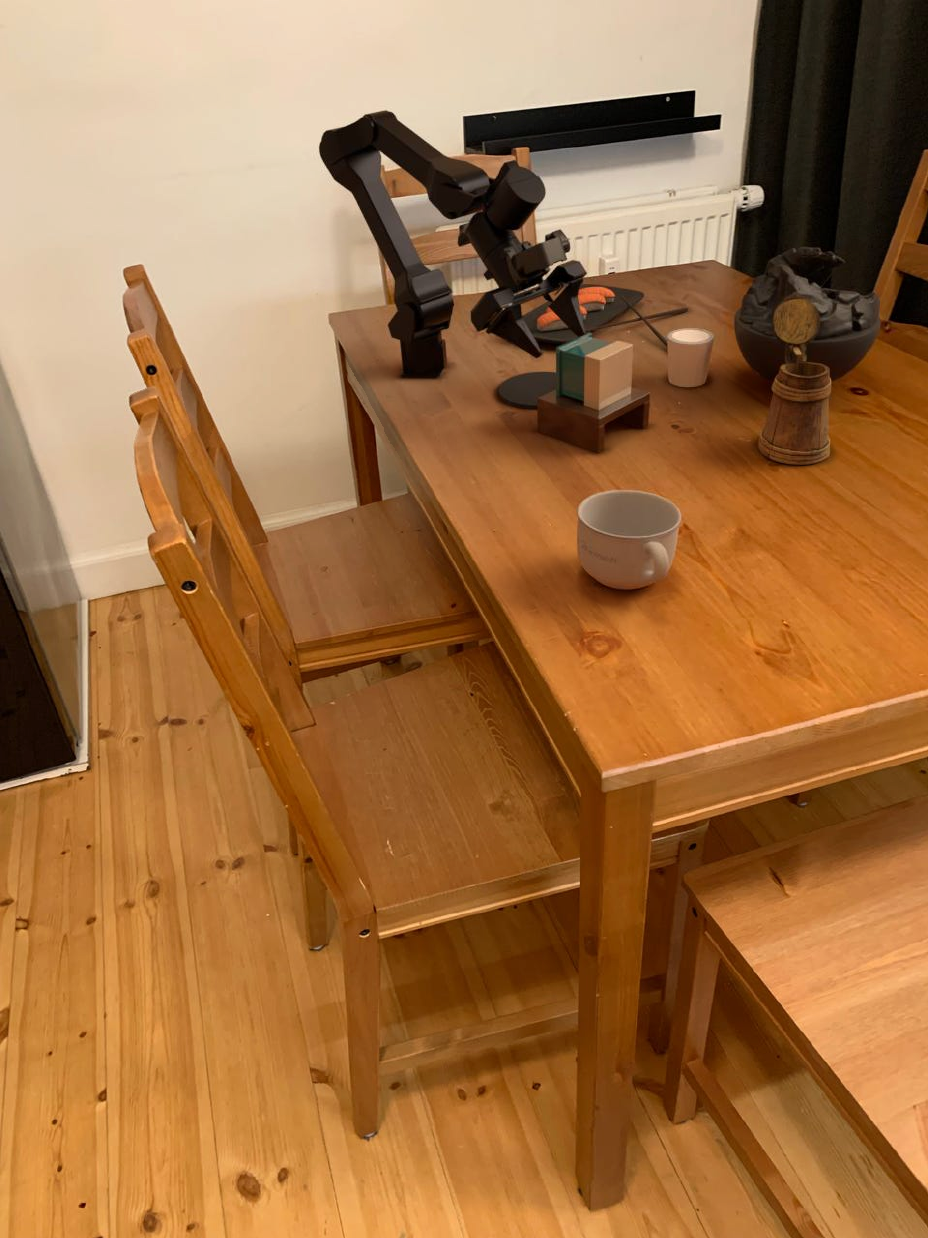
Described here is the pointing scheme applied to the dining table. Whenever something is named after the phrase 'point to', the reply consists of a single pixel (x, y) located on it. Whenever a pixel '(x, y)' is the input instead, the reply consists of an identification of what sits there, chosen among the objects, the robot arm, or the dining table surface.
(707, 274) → the dining table surface
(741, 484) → the dining table surface
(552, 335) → the sushi plate
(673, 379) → the white cup
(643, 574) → the teacup
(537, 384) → the mat
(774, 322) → the wooden mug
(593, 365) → the teal rimmed box
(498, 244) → the robot arm
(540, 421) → the stand
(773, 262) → the coal bowl
